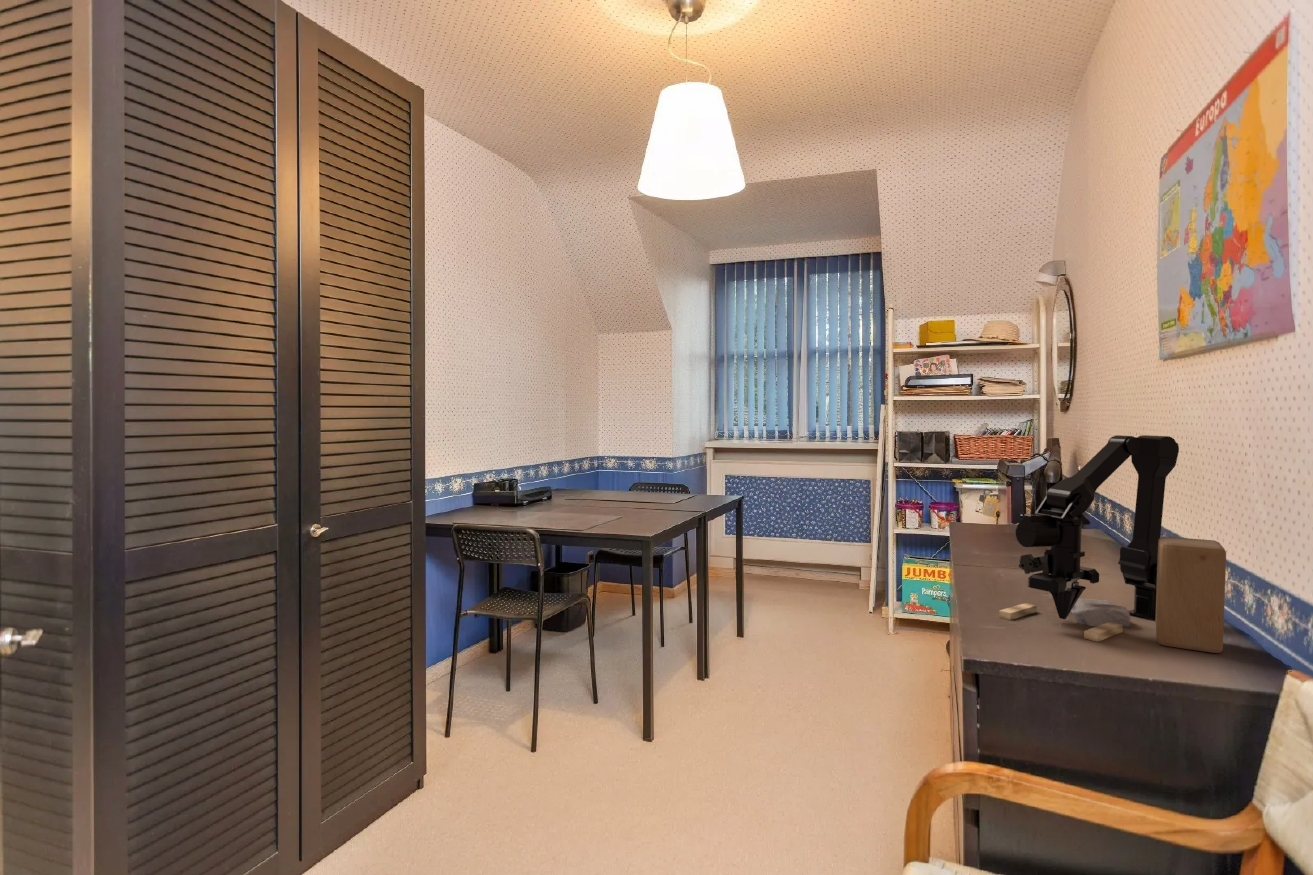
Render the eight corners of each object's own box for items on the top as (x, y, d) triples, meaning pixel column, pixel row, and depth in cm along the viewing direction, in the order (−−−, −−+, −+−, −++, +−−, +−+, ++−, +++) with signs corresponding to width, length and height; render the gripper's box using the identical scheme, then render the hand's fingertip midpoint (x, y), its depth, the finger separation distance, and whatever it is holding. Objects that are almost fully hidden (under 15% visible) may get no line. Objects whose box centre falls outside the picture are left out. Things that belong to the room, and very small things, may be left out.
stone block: (1086, 635, 152) (1136, 627, 151) (1081, 613, 152) (1131, 605, 151) (1061, 621, 164) (1108, 614, 162) (1057, 600, 164) (1103, 593, 163)
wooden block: (1223, 655, 134) (1227, 548, 133) (1157, 646, 139) (1161, 542, 138) (1216, 641, 142) (1220, 540, 142) (1154, 632, 148) (1158, 535, 147)
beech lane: (1025, 609, 164) (1025, 602, 164) (1122, 631, 148) (1122, 624, 148) (998, 617, 158) (999, 610, 158) (1097, 641, 142) (1097, 634, 142)
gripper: (1049, 536, 165) (1046, 603, 166) (1004, 543, 155) (1002, 616, 155) (1101, 543, 156) (1098, 615, 157) (1058, 552, 146) (1055, 629, 146)
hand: (1062, 618), depth 154 cm, fingers closed
